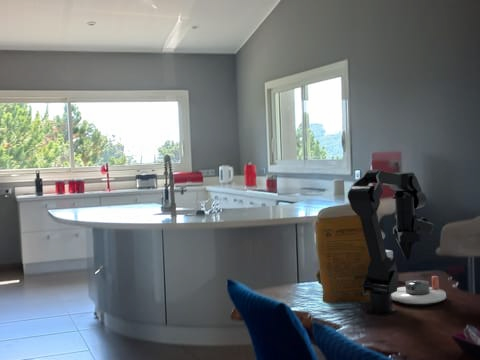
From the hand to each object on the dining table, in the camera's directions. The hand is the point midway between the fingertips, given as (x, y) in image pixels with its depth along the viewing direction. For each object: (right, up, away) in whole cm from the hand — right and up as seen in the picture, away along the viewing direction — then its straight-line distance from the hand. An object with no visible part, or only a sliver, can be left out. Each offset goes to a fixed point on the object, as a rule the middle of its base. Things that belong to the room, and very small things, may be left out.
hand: (407, 260), depth 180 cm
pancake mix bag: (-19, -14, +1) cm, 23 cm away
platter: (+2, -11, -3) cm, 12 cm away
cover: (+2, -10, -3) cm, 11 cm away
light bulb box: (-3, -12, +28) cm, 30 cm away
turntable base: (+2, -12, -3) cm, 13 cm away
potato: (-20, -13, +17) cm, 30 cm away
